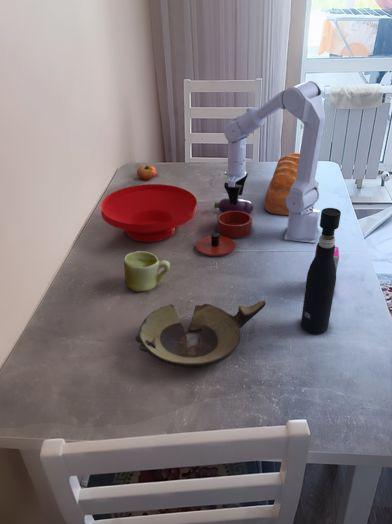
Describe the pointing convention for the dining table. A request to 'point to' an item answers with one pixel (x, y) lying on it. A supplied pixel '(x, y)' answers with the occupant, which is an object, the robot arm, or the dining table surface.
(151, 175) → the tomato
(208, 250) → the pot lid
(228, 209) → the eggplant
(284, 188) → the bread
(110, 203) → the bowl
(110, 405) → the dining table surface
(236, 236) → the pot
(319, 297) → the black bottle
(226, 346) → the olive round shallow dish
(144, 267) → the mug
